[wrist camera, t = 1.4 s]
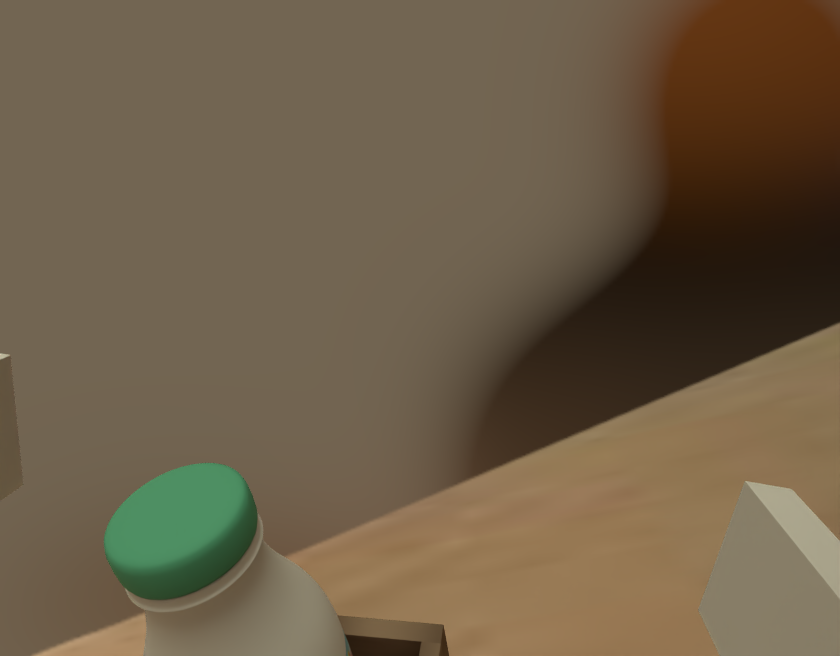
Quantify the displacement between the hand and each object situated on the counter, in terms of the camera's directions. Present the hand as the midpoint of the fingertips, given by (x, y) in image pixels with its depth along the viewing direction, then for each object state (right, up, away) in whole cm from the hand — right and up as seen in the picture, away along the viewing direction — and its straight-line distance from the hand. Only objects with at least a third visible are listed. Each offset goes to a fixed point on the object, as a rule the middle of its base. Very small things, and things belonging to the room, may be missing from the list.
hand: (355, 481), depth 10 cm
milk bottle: (-4, -21, +18) cm, 27 cm away
